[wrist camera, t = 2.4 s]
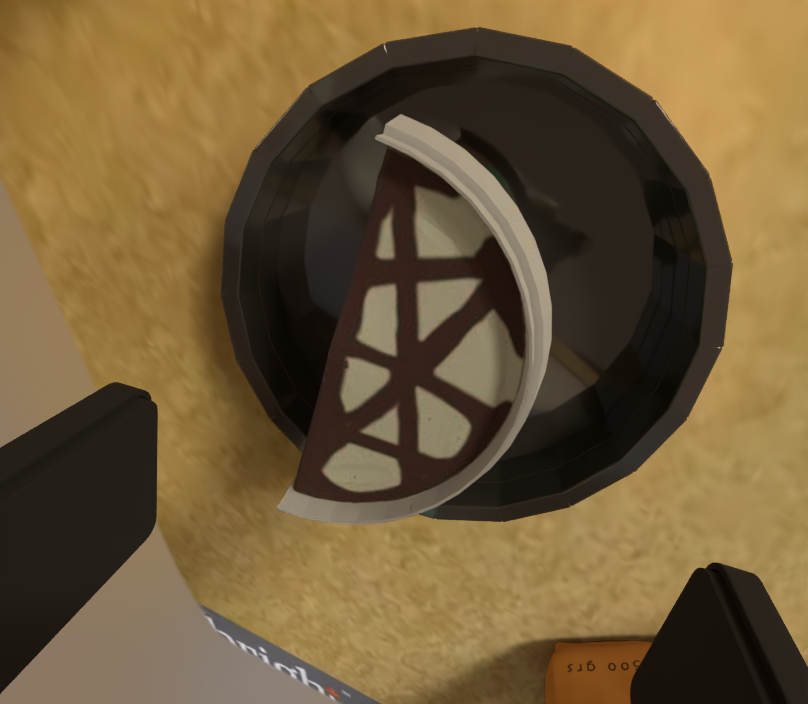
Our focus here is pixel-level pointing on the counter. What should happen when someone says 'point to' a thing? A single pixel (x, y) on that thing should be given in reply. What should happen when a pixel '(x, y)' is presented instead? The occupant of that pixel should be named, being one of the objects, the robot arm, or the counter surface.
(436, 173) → the food container
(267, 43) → the counter surface
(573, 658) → the coffee package
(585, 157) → the bowl
